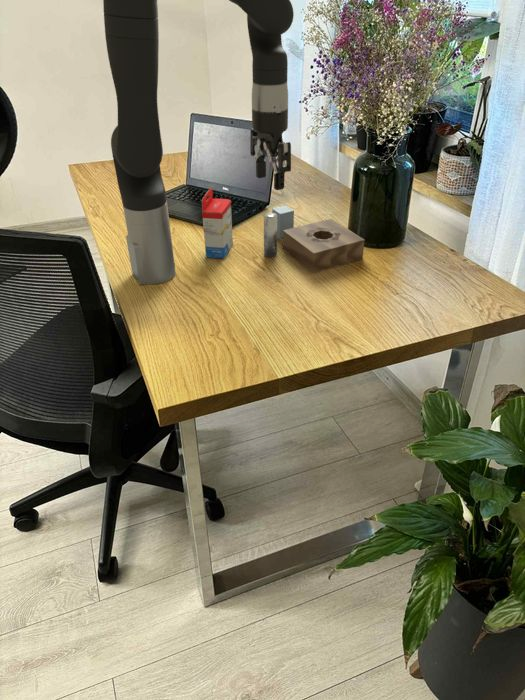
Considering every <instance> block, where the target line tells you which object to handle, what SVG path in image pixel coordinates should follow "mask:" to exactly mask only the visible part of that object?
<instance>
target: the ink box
mask: <svg viewBox="0 0 525 700" xmlns="http://www.w3.org/2000/svg"><path fill="white" fill-rule="evenodd" d="M213 192H214V191H213V187H212V186H210V188H209V189H208V190H207V192H206V193H205V194H204V195H203V197H202V199H201V216H202V225H203V236H204V237H203V238H204V247H205V257H206V258H213V259H226V257H227V255H228V253H229V252H230V250H231V248H232V247H233V245H234V243H233V242H234V241H233V240H234V239H233V221H232V220H233V219H232V218H233V217H232V202H231V199H227V198H214V197H213V196H214V195H213Z"/></svg>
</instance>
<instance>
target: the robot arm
mask: <svg viewBox="0 0 525 700" xmlns="http://www.w3.org/2000/svg"><path fill="white" fill-rule="evenodd" d="M102 2H103V3H102V4H103V23H104V35H105V36H104V37H105V43H106V44H105V45H106V51H107V56H108V62H109V67H110V70H111V71H110V73H111V75H112V80H113V85H114V89H115V95H116V102H117V103H116V105H117V125H116V126H115V128H114V130H113V131H112V134H111V136H110V137H111V138H110V146H111V148H110V149H111V153H112V158H113V159H112V160H113V165H114V171H115V175H116V180H117V186H118V190H119V195H120V199H121V204H122V208H123V214H124V221H125V225H126V231H127V235H126V236H125V238H126V239H125V240H126V244H127V251H128V257H129V261H130V268H131V272H132V273H131V274H132V275H133V276H134V278H135V279H136V281H137V283H138V284H139V285H146V284H147V285H158V284H164V283H166V282H168V281H170V280H173V278H174V277H175V276H176V263H175V257H174V256H175V255H174V251H173V249H174V248H173V242H172V239H173V238H172V233H171V225H170V217H169V216H170V215H169V210H168V207H169V206H168V199H167V193H166V192H167V191H166V188H165V187H166V186H165V184H164V181H163V177H162V172H161V163H162V160H163V154H164V152H163V151H164V150H163V142H162V135H161V134H162V133H161V127H160V119H159V118H160V116H159V111H158V110H159V109H158V107H159V106H158V86H159V85H158V83H159V51H160V50H159V47H160V46H159V37H160V36H159V35H160V33H159V32H160V31H159V7H158V5H159V4H158V0H103V1H102ZM228 2H231V3H233V4H235V6H236V5H237V6H238V7H239V8H240V9H241V10H242V11H243V12H244V14H246V23H247V24H246V25H247V31H248V33H247V34H248V38H249V45H250V50H251V56H252V65H251V66H252V86H251V87H252V88H251V128H250V137H249V138H250V139H249V140H250V141H249V142H250V145H249V146H250V156H251V157H253V160H254V162H255V175H256V178H258V179H263V178H266V177H267V176H266V175H267V160H266V159H267V158H268V161H269V163H270V164H271V165H272V168H273V188H274V190H276V191H280V190H281V191H282V190H284V189H285V173H287V172H291V171H292V145H291V142H290V141H285V142H284V139H283V134H284V132H286V131H287V130H288V129H289V127H288V126H289V124H288V123H289V121H288V120H289V89H288V61H289V60H288V55H287V53H286V50H285V49H284V48H283V47H284V46H283V43H282V42H283V41H282V35H283V34H285V33H286V32H287V31H288V30H290V28H291V26H292V24H293V21H294V15H295V14H294V13H295V12H294V7H293V4H292V2H291V0H228Z"/></svg>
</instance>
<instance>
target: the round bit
mask: <svg viewBox="0 0 525 700" xmlns="http://www.w3.org/2000/svg"><path fill="white" fill-rule="evenodd" d="M263 255H264V257H266V258H275V257H277V256H278V238H277V214H275V213H272V212H267V213H264V214H263Z"/></svg>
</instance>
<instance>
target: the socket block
mask: <svg viewBox="0 0 525 700" xmlns="http://www.w3.org/2000/svg"><path fill="white" fill-rule="evenodd" d="M282 250H283V251H285V253H287V254H288V255H290V256H291V257H292V258H294V259H295V260H296V261H297V262H298V263H300V264H301V265H302V266H303V267H305V268H306V269H307V270H309V271H310V272H311V273H312V274H314V273H318V272H322V271H324V270H328V269H332V268H335V267H339V266H342V265H346V264H350V263H352V262H353V263H355V262H357V261H361V260H363V259H364V252H365V251H364V250H365V239H364V238H363V237H361V236H359V235H358V234H356V233H354V232H353V231H352V230H350V229H348V228H347V227H345V226H344V225H343V224H341V223H339V222H338V221H336V220H334V219H333V218H329V219H324V220H320V221H316V222H312V223H307V224H303V225H299V226H296V227H295V226H294V228H290V229H286V230H283V239H282Z"/></svg>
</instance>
